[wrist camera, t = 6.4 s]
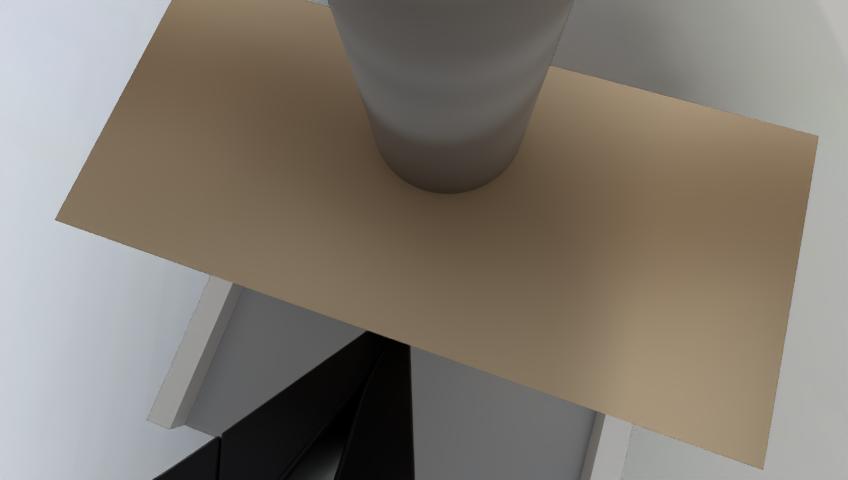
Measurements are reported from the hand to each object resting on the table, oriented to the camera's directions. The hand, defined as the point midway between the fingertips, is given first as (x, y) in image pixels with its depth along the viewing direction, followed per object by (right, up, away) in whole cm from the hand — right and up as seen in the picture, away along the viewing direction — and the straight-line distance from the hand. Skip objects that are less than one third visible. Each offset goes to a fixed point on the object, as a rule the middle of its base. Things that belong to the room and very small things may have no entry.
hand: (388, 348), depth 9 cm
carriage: (+1, +1, +6) cm, 6 cm away
